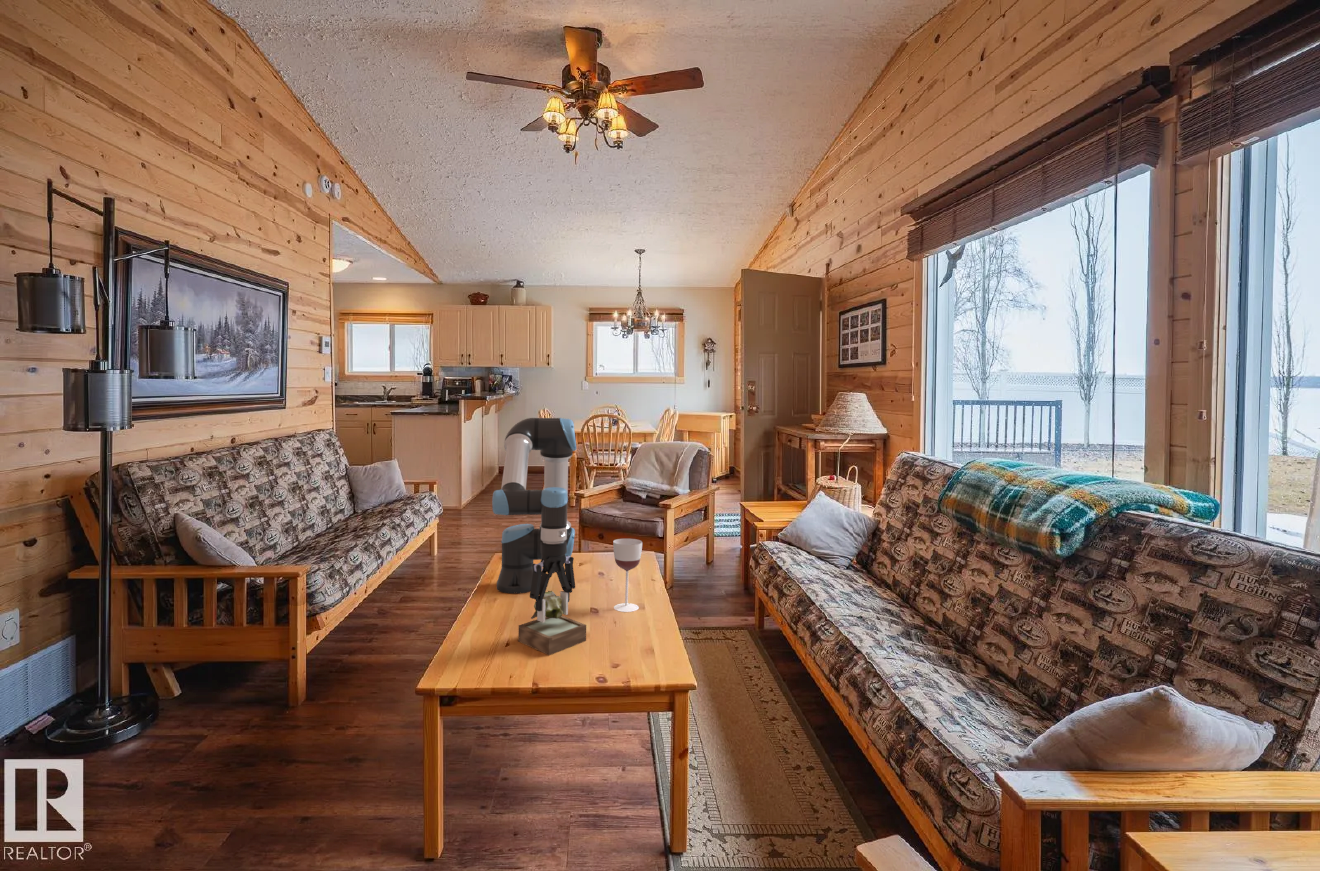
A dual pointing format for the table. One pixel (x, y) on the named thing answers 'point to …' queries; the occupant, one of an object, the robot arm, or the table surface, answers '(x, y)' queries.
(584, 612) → the table surface
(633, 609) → the wineglass
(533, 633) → the stand
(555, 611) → the fruit
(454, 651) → the table surface
